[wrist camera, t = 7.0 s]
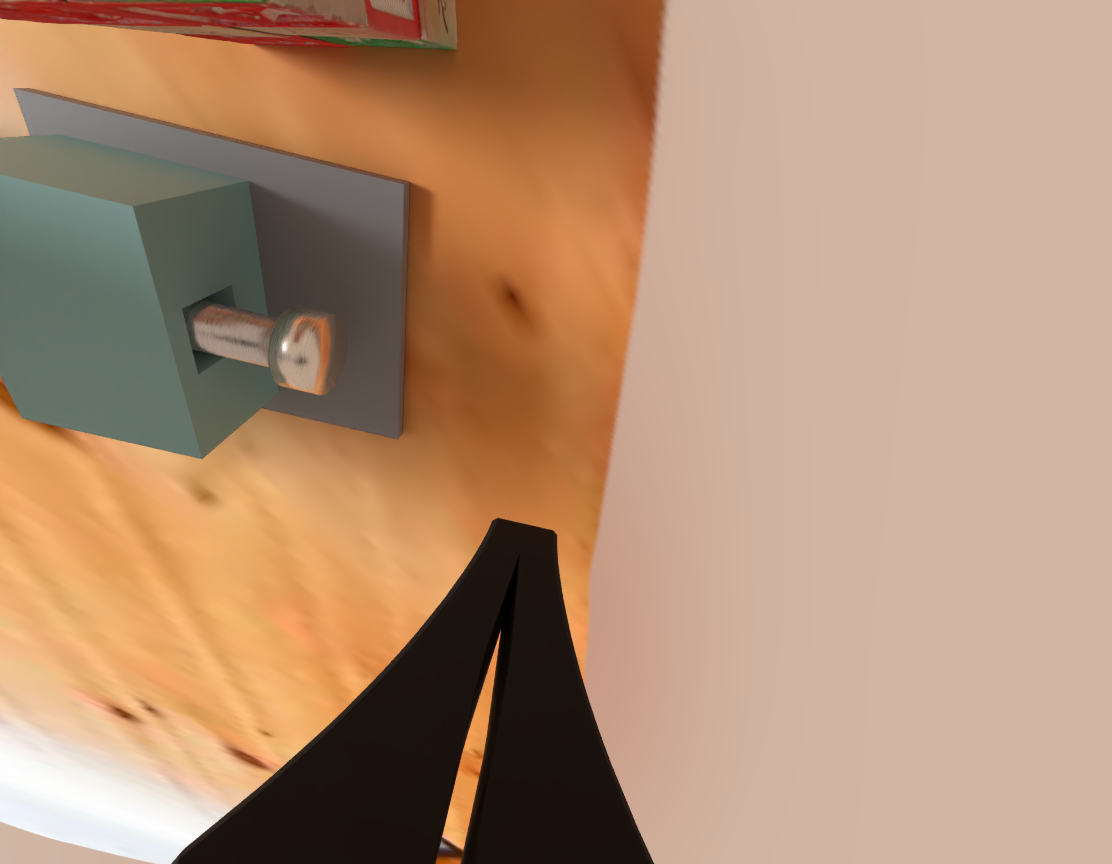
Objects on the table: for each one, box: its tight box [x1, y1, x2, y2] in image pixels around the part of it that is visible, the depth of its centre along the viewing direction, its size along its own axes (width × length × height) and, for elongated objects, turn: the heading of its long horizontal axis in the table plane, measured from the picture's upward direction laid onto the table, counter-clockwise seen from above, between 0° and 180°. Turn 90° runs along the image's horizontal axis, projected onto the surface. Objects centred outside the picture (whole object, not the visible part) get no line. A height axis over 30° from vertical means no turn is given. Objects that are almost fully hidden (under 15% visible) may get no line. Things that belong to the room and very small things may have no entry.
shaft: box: [182, 300, 348, 395], centre depth 16 cm, size 11×3×3 cm, turn 78°
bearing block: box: [0, 88, 410, 459], centre depth 16 cm, size 12×10×5 cm
